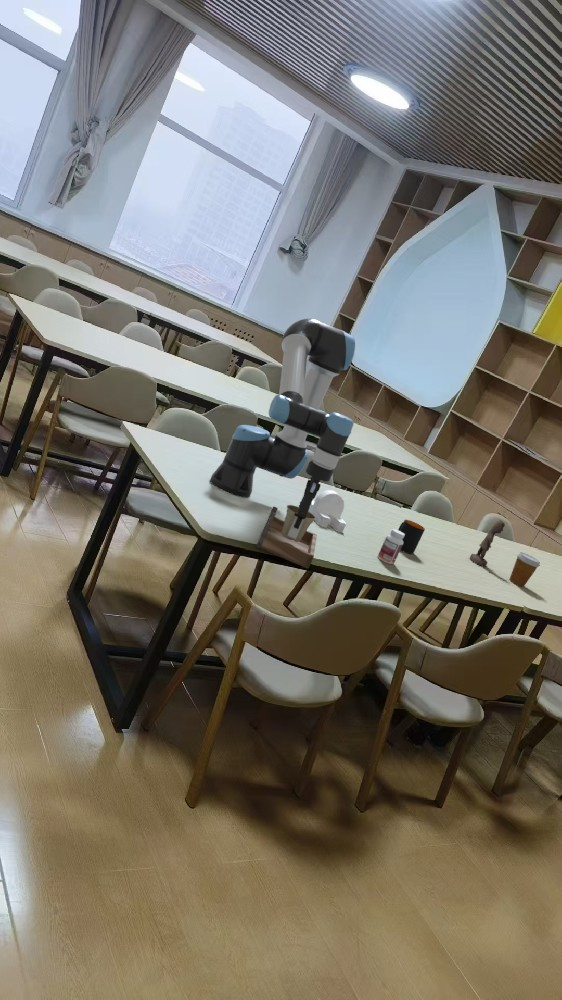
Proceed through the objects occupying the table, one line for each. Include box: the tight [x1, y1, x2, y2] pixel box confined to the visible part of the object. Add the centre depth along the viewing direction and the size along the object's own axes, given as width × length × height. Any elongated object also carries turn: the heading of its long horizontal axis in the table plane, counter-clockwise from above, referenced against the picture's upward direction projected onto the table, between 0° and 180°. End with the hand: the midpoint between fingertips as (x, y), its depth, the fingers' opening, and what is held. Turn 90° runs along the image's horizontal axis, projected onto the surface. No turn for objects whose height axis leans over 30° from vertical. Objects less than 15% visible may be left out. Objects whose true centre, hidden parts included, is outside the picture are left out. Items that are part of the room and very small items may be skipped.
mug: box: [397, 519, 426, 555], centre depth 286 cm, size 8×12×10 cm
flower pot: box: [281, 504, 316, 542], centre depth 226 cm, size 9×9×9 cm
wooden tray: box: [255, 506, 318, 570], centre depth 227 cm, size 25×16×7 cm, turn 174°
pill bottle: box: [377, 528, 405, 565], centre depth 258 cm, size 6×6×11 cm
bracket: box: [308, 489, 347, 534], centre depth 277 cm, size 19×10×11 cm, turn 16°
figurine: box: [469, 519, 506, 567], centre depth 314 cm, size 9×8×20 cm
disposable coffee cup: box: [509, 552, 541, 588], centre depth 307 cm, size 10×10×12 cm
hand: (292, 532), depth 226 cm, fingers closed on flower pot, 9 cm apart
